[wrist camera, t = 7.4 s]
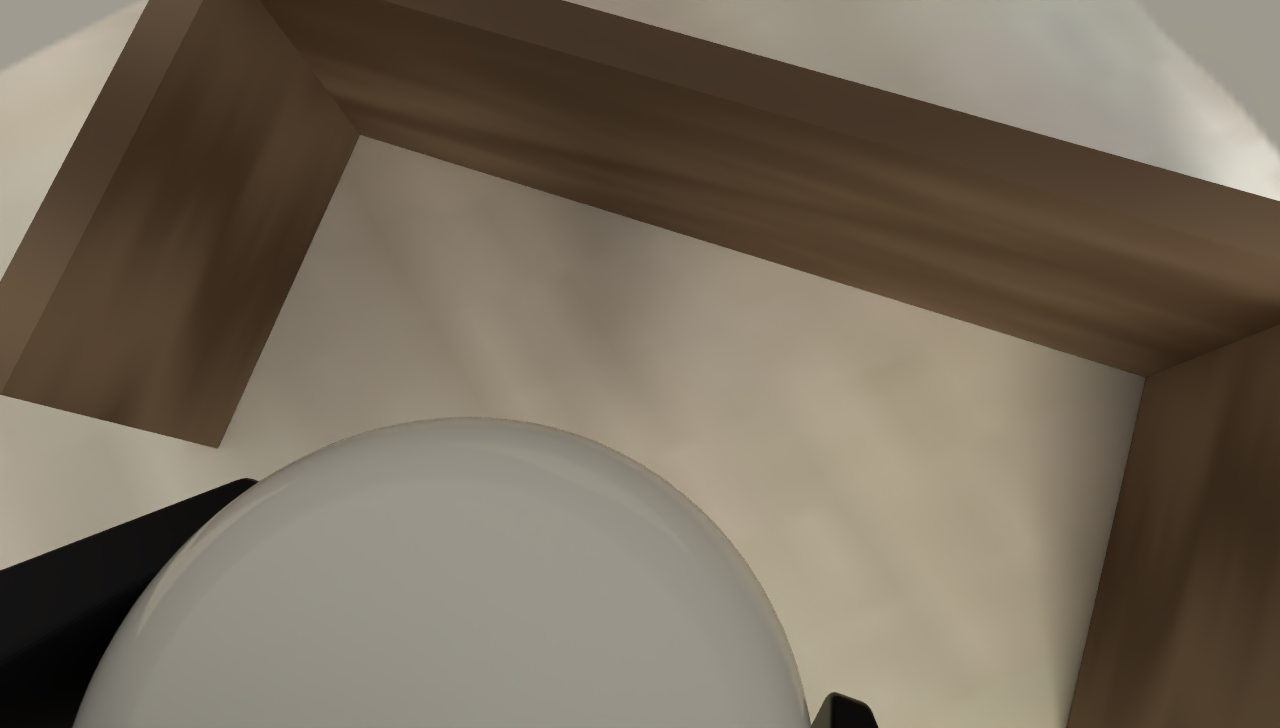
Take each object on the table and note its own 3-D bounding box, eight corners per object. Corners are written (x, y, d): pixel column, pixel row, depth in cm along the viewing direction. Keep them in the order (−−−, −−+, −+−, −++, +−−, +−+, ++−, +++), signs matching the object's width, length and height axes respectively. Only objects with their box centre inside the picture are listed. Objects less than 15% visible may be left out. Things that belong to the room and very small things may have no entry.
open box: (1106, 771, 19) (1349, 890, 12) (182, 435, 21) (-50, 376, 15) (1196, 352, 21) (1449, 248, 14) (341, 92, 23) (202, -101, 17)
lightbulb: (455, 458, 16) (55, 239, 6) (779, 544, 16) (991, 473, 5) (346, 806, 15) (-448, 1356, 4) (696, 915, 14) (757, 1868, 4)
